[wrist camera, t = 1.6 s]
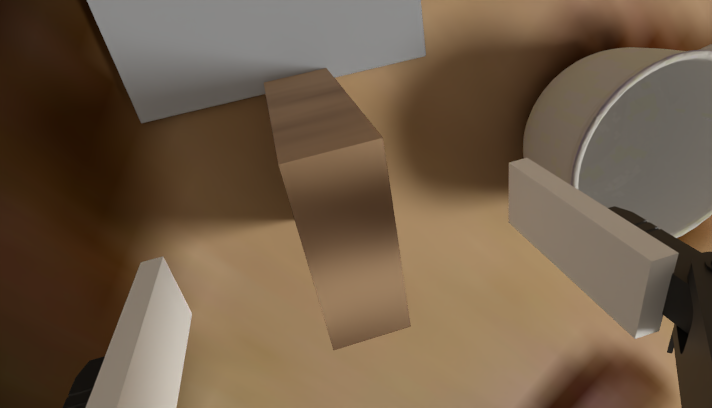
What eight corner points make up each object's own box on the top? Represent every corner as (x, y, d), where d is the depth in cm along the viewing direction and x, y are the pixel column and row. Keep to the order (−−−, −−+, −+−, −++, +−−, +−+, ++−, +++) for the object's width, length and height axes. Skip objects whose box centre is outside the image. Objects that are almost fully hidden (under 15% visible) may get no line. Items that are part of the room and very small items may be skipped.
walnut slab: (354, 205, 28) (410, 326, 19) (302, 219, 27) (333, 350, 18) (326, 68, 23) (383, 137, 14) (263, 82, 23) (278, 164, 13)
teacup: (526, 219, 32) (605, 283, 25) (475, 97, 26) (556, 135, 19) (691, 117, 31) (820, 154, 24) (672, -30, 26) (831, -37, 19)
